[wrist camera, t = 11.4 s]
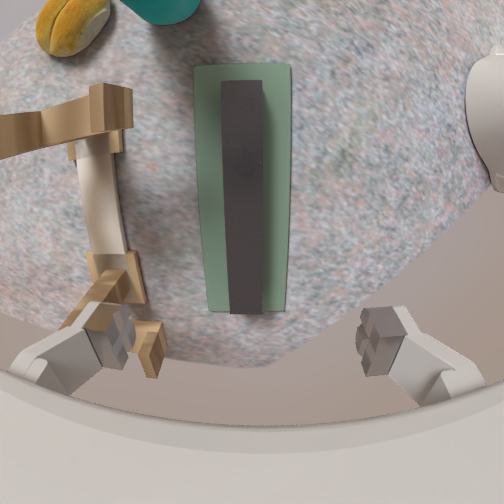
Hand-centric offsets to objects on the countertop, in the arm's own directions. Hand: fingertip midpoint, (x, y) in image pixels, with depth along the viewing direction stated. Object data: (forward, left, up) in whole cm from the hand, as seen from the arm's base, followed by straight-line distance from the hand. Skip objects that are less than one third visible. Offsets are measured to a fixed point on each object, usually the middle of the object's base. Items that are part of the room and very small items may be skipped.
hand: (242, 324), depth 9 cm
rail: (0, 0, -17) cm, 17 cm away
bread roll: (+17, -20, -18) cm, 32 cm away
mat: (0, 0, -17) cm, 17 cm away
